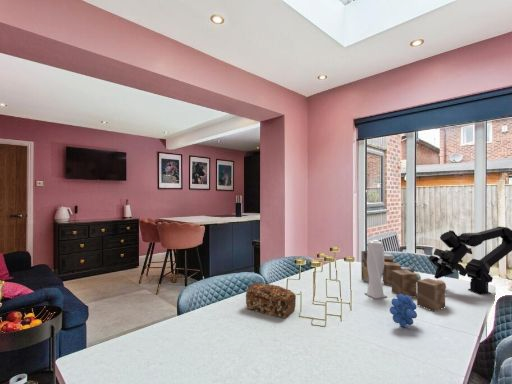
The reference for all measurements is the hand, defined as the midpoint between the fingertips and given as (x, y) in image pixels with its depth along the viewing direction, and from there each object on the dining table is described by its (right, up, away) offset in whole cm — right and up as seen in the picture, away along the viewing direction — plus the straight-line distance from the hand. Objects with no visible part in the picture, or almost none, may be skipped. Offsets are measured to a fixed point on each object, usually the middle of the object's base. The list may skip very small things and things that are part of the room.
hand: (435, 278), depth 133 cm
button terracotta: (-10, -2, -14) cm, 17 cm away
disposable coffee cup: (-10, -8, +31) cm, 34 cm away
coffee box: (-24, -8, +18) cm, 31 cm away
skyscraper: (-31, -7, -4) cm, 32 cm away
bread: (-81, -7, -19) cm, 84 cm away
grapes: (-34, -7, -35) cm, 49 cm away
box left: (-14, -8, +15) cm, 22 cm away
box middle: (-16, -7, -1) cm, 18 cm away
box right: (-12, -7, -16) cm, 21 cm away
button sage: (-13, -2, -1) cm, 13 cm away
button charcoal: (-8, -2, +13) cm, 15 cm away
